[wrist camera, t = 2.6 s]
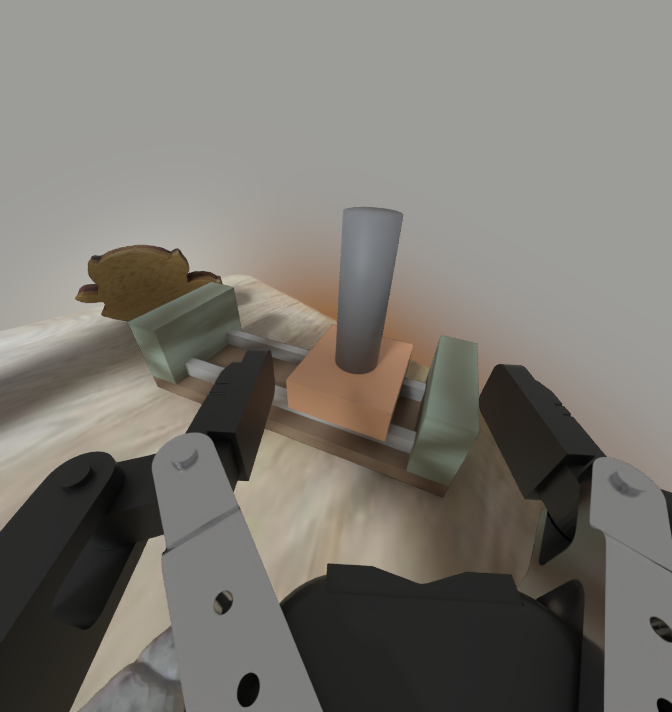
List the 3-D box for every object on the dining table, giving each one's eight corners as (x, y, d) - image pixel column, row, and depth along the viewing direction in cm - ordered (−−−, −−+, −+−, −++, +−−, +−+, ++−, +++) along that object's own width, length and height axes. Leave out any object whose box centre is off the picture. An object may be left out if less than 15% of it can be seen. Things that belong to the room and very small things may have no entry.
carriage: (288, 407, 22) (271, 216, 14) (331, 349, 29) (338, 196, 21) (384, 441, 20) (434, 239, 12) (407, 369, 27) (449, 209, 18)
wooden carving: (224, 301, 44) (210, 234, 38) (230, 314, 40) (215, 243, 34) (97, 322, 37) (54, 245, 31) (92, 339, 34) (44, 257, 28)
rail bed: (158, 386, 28) (127, 322, 23) (224, 337, 35) (211, 281, 31) (442, 497, 20) (479, 432, 16) (451, 404, 28) (477, 343, 23)
